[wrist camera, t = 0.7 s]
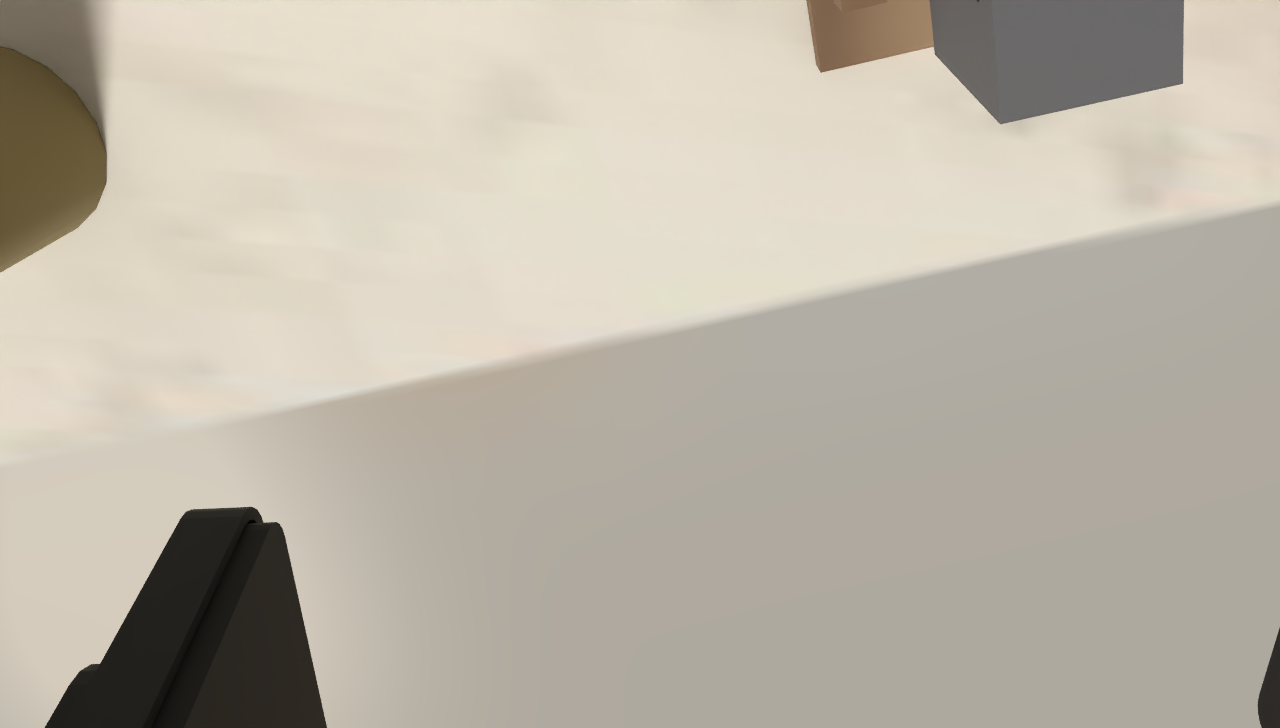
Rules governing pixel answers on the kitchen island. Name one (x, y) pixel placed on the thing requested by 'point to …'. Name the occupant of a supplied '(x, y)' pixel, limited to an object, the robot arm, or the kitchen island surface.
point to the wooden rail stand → (867, 30)
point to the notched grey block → (1058, 51)
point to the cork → (43, 158)
